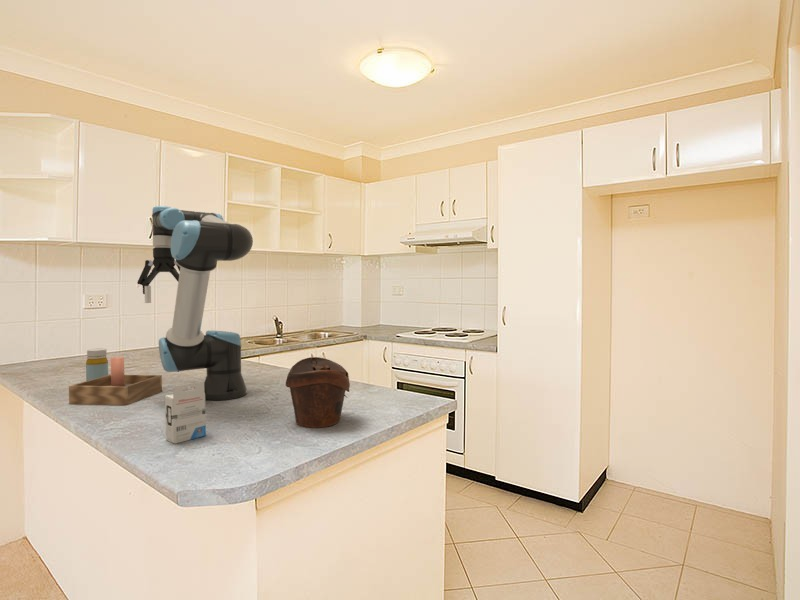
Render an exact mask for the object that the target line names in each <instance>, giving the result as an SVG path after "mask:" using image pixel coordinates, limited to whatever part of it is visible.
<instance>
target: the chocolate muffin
mask: <svg viewBox="0 0 800 600" xmlns="http://www.w3.org/2000/svg"><path fill="white" fill-rule="evenodd" d="M350 386H351V383H350V376H349V372H348V371H347V370H346V369H345V368H344V367H343V366H342V365H341V364H339V363H337V362H336V361H333V360H331V359H329V358H325V357H317V356H316V357H315V356H311V357H307V358H302V359H301V360H299V361H297V362H296V363H295V364H294V365H292V366H291V367H290V370H289V371H288V373H287V376H286V381H285V387H287V388H289V391H290V397H291V402H292V406H293V411H294V418H295V423H296V424H297V425H298V426H301V427H306V428H312V429H317V428H319V429H320V428H328V427H332V426H334V425H336V424H338V423H339V422H340V420H341V416H342V411H343V407H344V401H345V398H347V395H346V392H348V393H350Z"/></svg>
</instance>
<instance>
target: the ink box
mask: <svg viewBox="0 0 800 600" xmlns="http://www.w3.org/2000/svg"><path fill="white" fill-rule="evenodd" d="M204 382H205V380H201V381H196V382H190V383H183V384H180V385H179V384H178V385H173V386H172V394H167V395H165V396H164V405H165V407H164V408H165V410H164V411H165V438H166V439H165V440H166V441H168V442H170V443H172V444H180V443H183V442H188V441H191V440H195V439H198V438H202V437H205V436H207V427H206V425H207V424H206V423H207V422H206V420H207V419H206V418H207V417H206V416H207V415H206V399H205V392H204ZM188 388H194V389H189V390H185V389H188Z"/></svg>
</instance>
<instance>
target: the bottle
mask: <svg viewBox="0 0 800 600" xmlns="http://www.w3.org/2000/svg"><path fill="white" fill-rule="evenodd" d="M86 356H87V359H86V362H85V377H86V378H85V379H86V380H85V381H89V380H92V379H96V378H100V377H103V376H107V375H109V361H108V357H107V349H106V348H102V347H101V348H91V349H87V350H86Z"/></svg>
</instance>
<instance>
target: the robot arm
mask: <svg viewBox="0 0 800 600" xmlns="http://www.w3.org/2000/svg"><path fill="white" fill-rule="evenodd" d="M151 217H152V247H153V248H152V257H153V260H151V259H150V260H149V259H146V260H145V261H144V267H143V269H142V272H141V273H140V276H139V278H138V280H137V285H141V286H142V294H143V295H144V304H151V303H152V286H151V285H150V284H151V283H152V282H153V280H154V279H155V278H156V276H158V274H159V273H170V274H171V275H172V276H173V278H174V279H175V280H176V281H177V289H176V297H175V305H174V309H173V310H174V312H173V319H172V326H171V328H169V329H168V330H167V331H166V332H165V337H164V336H163V337H160V338H159V339H158V352H159V358H160V359H159V360H160V363H161V366H162V368H163V370H164V371H165V372H168V373H175V372H178V373H179V372H185V371H193V370H202V369H203V370H204V369H206V376H205V379H204V392H205V400H208V401H209V400H211V401H223V400H224V401H226V400H231V399H232V400H234V399H239V398H241V397H244V396H246V394H247V385H246V383H245V380H244V376H243V375H242V340H241V335H240V334H239V333H237V332H233V331H226V330H225V331H223V330H206V331H205V334H204V333H203V331H202V330H201V329H202V323H203V317H204V313H205V312H204V311H205V304H206V299H207V293H208V286H209V281H210V277H211V276H210V274H211V272H212V271H214V270H216V269H217V265H218V262H219V261H220V262H221V261H224V262H230V261H231V262H232V261H236V260H240V259H242V258H244V257H245V256H247V254H249V253H250V252H251V250H252V248H253V243H254V239H253V235H252V233H251V232H250V230H248V229H247V228H246V227H245V226H243V225H240V224H237V223H229V222H228V221H225V220H224V218H223V216H222V215H221V214H220V213H214V212H205V211H204V212H201V211H195V210H193V211H192V210H184V209H179V208H176V207H172V206H167V205H166V206H165V205H164V206H163V205H158V206H157V205H155V206H153V207H152V213H151ZM152 266H154V267H152ZM175 266H176V267H177V269H178V271H177V269H176V268H175ZM150 271H151V272H150Z"/></svg>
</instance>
